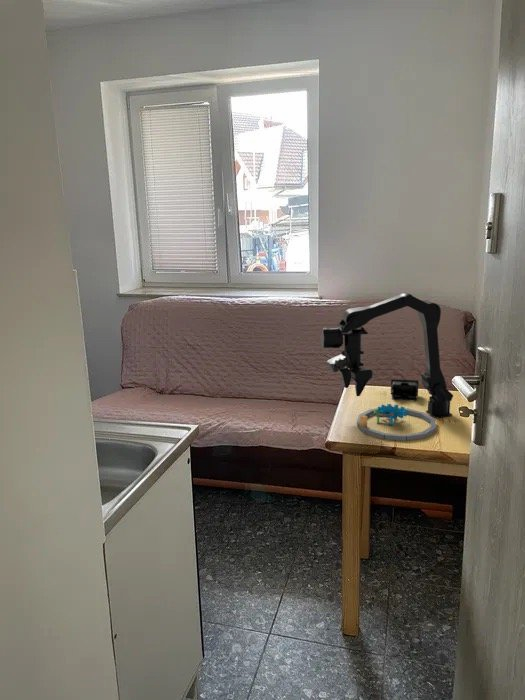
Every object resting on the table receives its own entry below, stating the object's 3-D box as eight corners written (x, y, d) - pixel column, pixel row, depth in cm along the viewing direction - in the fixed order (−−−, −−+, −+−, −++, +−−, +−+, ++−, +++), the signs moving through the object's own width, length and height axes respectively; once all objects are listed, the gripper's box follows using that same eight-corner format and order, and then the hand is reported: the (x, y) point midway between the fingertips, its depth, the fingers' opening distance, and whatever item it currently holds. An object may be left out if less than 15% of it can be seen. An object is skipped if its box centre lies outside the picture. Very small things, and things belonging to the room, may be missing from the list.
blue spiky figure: (410, 415, 183) (404, 401, 175) (409, 431, 180) (403, 418, 172) (378, 415, 188) (370, 402, 180) (376, 430, 185) (369, 418, 177)
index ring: (409, 407, 194) (410, 395, 193) (451, 433, 170) (452, 420, 169) (344, 416, 187) (344, 404, 186) (378, 445, 164) (378, 431, 163)
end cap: (417, 394, 207) (418, 378, 205) (418, 401, 200) (418, 383, 199) (390, 393, 210) (391, 376, 208) (390, 399, 203) (390, 382, 201)
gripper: (319, 343, 186) (319, 386, 190) (341, 356, 168) (341, 403, 172) (349, 340, 189) (349, 382, 193) (374, 352, 171) (373, 399, 175)
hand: (352, 391), depth 183 cm, fingers open, 9 cm apart
